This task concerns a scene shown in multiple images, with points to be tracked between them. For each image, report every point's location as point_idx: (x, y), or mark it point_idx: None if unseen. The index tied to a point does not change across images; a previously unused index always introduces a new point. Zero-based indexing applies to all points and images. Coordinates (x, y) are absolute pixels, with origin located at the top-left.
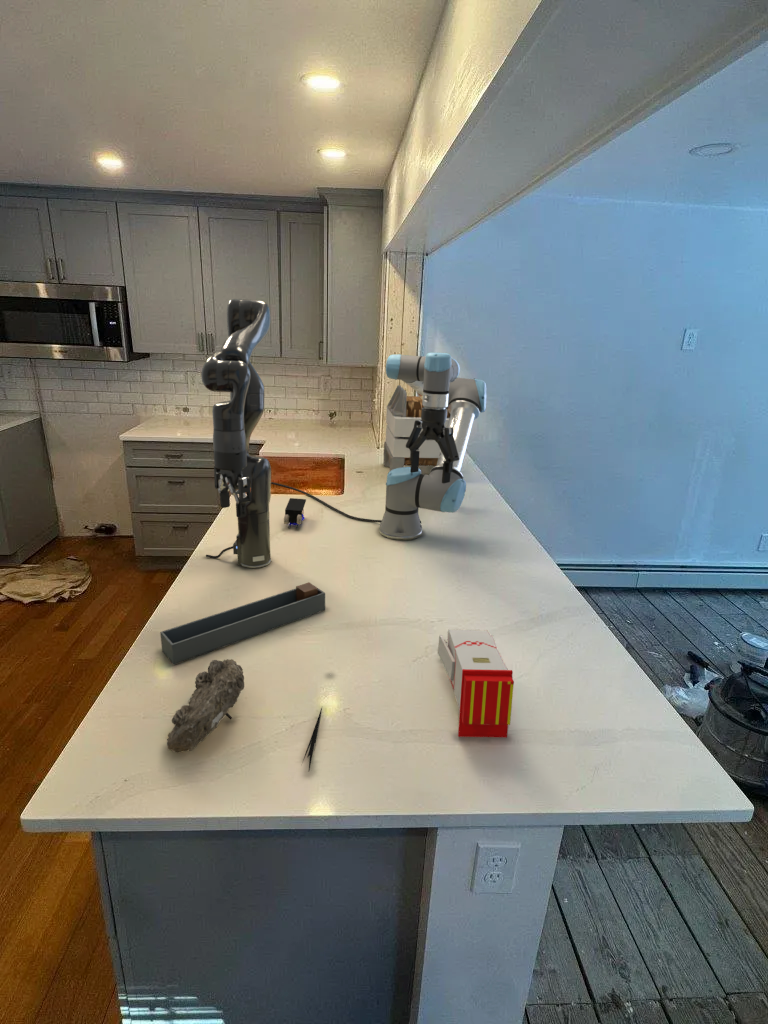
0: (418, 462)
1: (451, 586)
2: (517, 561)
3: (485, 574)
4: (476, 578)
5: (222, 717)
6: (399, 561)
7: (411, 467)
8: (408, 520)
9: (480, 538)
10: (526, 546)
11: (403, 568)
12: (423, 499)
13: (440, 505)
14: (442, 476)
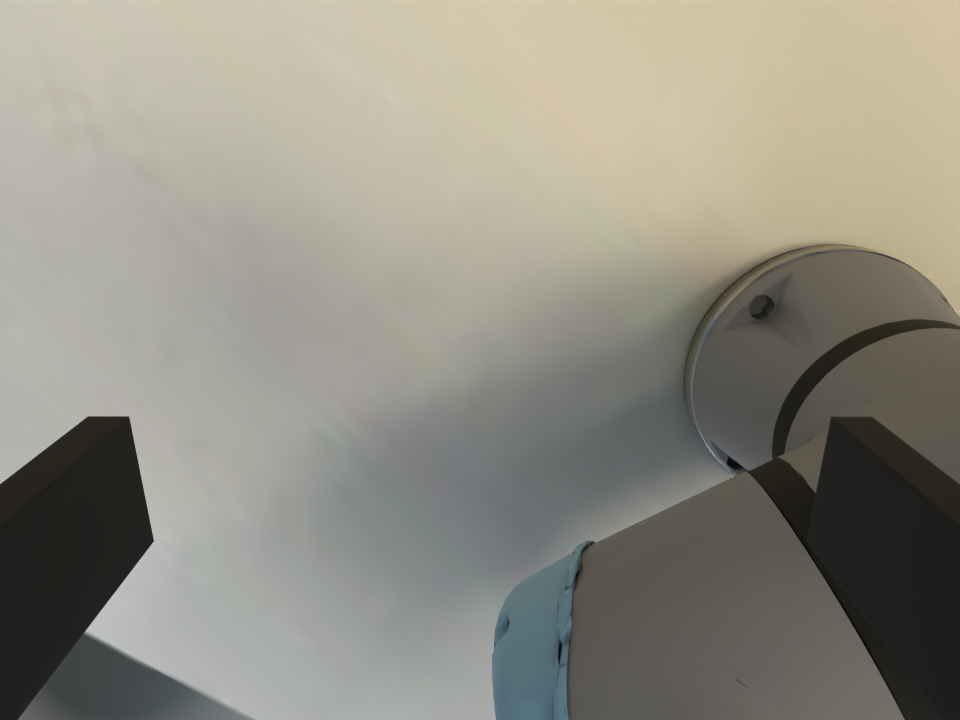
0: (894, 646)
1: (109, 87)
2: (185, 567)
3: (143, 345)
4: (127, 273)
5: None
6: (518, 69)
7: (903, 458)
8: (764, 380)
9: (475, 627)
10: (288, 710)
11: (431, 17)
12: (720, 501)
13: (582, 548)
14: (59, 471)
